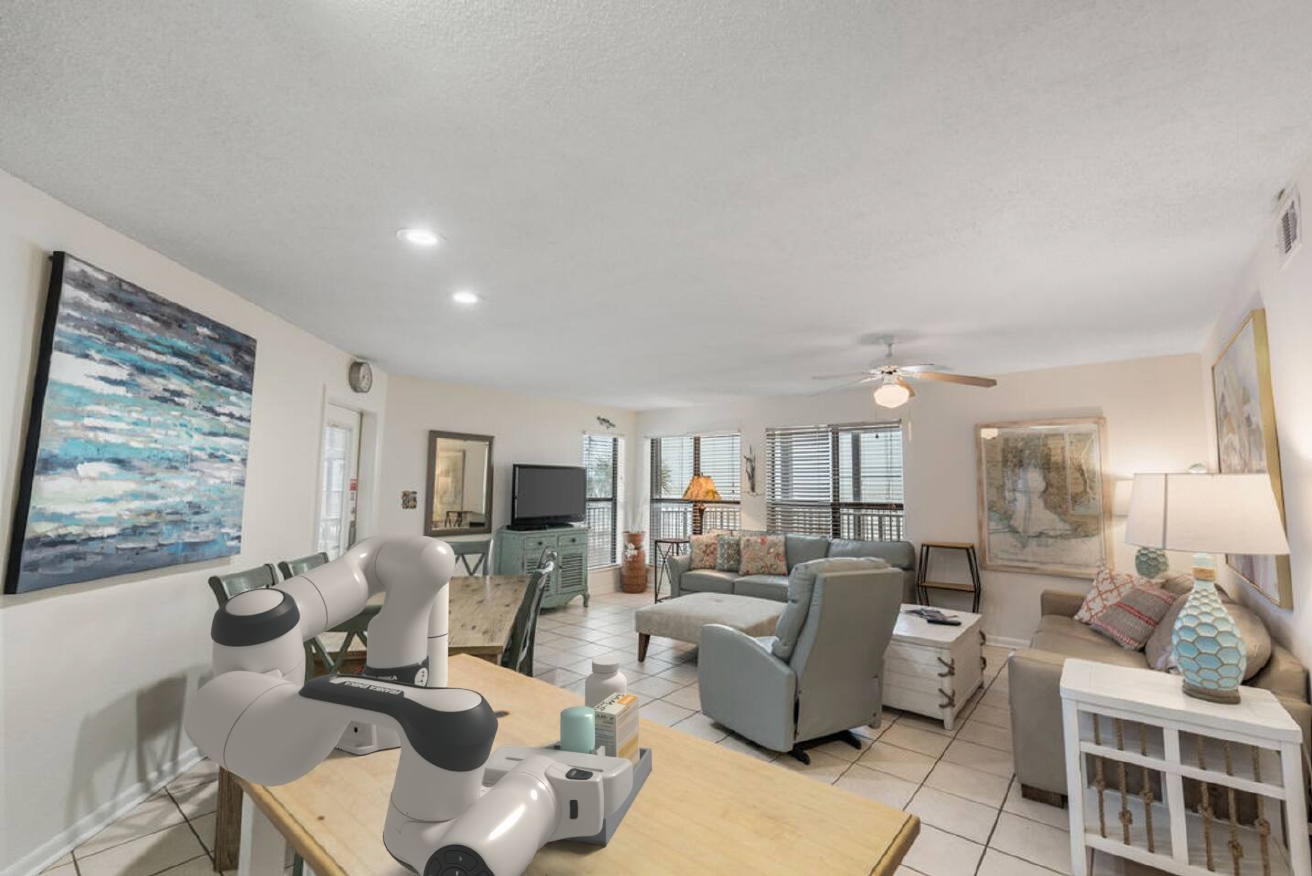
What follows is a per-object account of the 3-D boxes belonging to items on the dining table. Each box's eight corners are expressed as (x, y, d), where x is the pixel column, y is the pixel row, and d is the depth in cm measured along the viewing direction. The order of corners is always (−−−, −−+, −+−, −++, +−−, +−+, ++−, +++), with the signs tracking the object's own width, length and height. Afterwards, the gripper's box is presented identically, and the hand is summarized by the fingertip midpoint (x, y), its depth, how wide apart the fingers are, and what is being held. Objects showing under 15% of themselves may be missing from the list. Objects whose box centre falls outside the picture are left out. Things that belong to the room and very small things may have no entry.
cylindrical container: (410, 691, 136) (412, 585, 138) (426, 681, 143) (428, 580, 145) (437, 692, 135) (439, 585, 137) (452, 682, 142) (454, 581, 144)
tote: (524, 832, 79) (524, 805, 79) (585, 761, 99) (585, 740, 99) (606, 846, 75) (605, 818, 76) (651, 769, 96) (651, 748, 96)
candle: (554, 812, 80) (554, 717, 81) (569, 794, 85) (569, 704, 86) (586, 818, 78) (586, 720, 80) (600, 799, 83) (599, 707, 84)
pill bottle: (621, 752, 102) (620, 667, 104) (579, 749, 104) (578, 665, 105) (631, 733, 110) (630, 654, 111) (592, 731, 112) (591, 653, 113)
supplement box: (615, 772, 94) (614, 690, 95) (641, 777, 92) (639, 694, 93) (589, 797, 86) (588, 708, 87) (617, 804, 84) (616, 713, 85)
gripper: (461, 812, 73) (517, 762, 86) (610, 837, 67) (645, 779, 80) (462, 761, 73) (517, 719, 86) (610, 781, 67) (645, 733, 81)
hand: (580, 748), depth 83 cm, fingers closed on candle, 5 cm apart
